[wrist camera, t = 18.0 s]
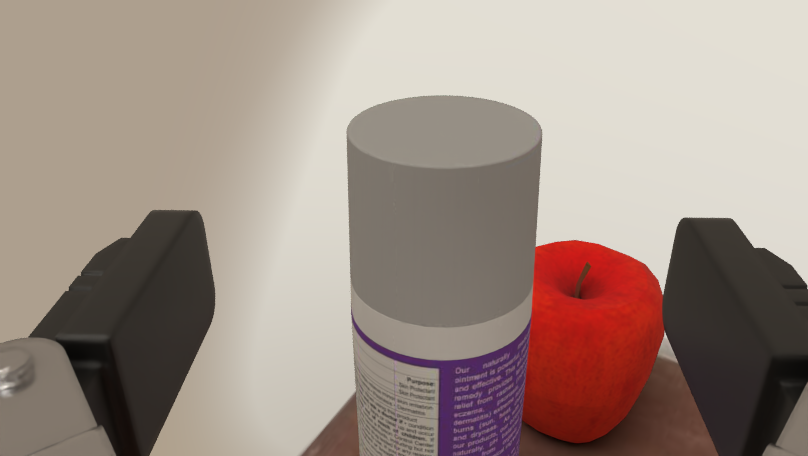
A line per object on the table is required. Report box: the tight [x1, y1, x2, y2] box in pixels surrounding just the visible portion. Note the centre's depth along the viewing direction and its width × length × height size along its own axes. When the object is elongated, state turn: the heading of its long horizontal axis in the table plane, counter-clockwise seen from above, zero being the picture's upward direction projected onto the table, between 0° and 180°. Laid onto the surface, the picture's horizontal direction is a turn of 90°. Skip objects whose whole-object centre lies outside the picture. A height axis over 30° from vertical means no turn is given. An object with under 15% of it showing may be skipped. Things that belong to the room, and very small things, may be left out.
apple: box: [522, 240, 665, 443], centre depth 39 cm, size 9×9×11 cm
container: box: [347, 96, 542, 456], centre depth 20 cm, size 5×5×15 cm
